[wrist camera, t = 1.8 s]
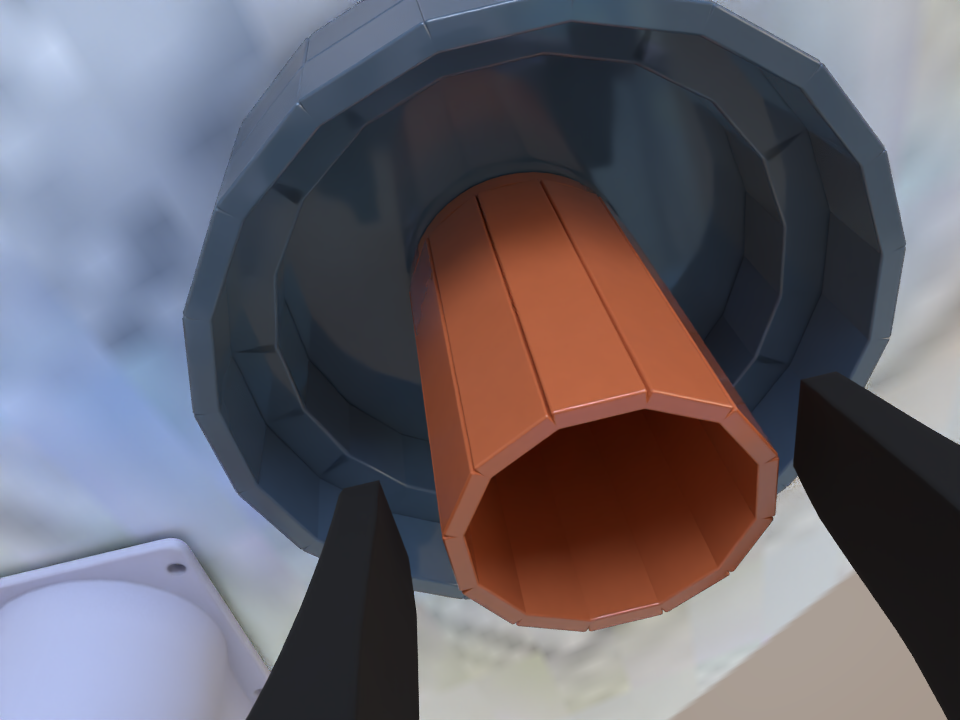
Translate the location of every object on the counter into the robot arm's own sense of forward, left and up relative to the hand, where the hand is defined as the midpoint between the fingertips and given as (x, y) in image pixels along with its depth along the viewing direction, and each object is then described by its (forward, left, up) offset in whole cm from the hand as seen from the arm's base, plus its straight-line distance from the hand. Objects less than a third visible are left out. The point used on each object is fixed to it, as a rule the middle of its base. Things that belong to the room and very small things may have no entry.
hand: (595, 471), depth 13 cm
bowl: (0, 0, -7) cm, 7 cm away
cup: (0, 0, -7) cm, 7 cm away
